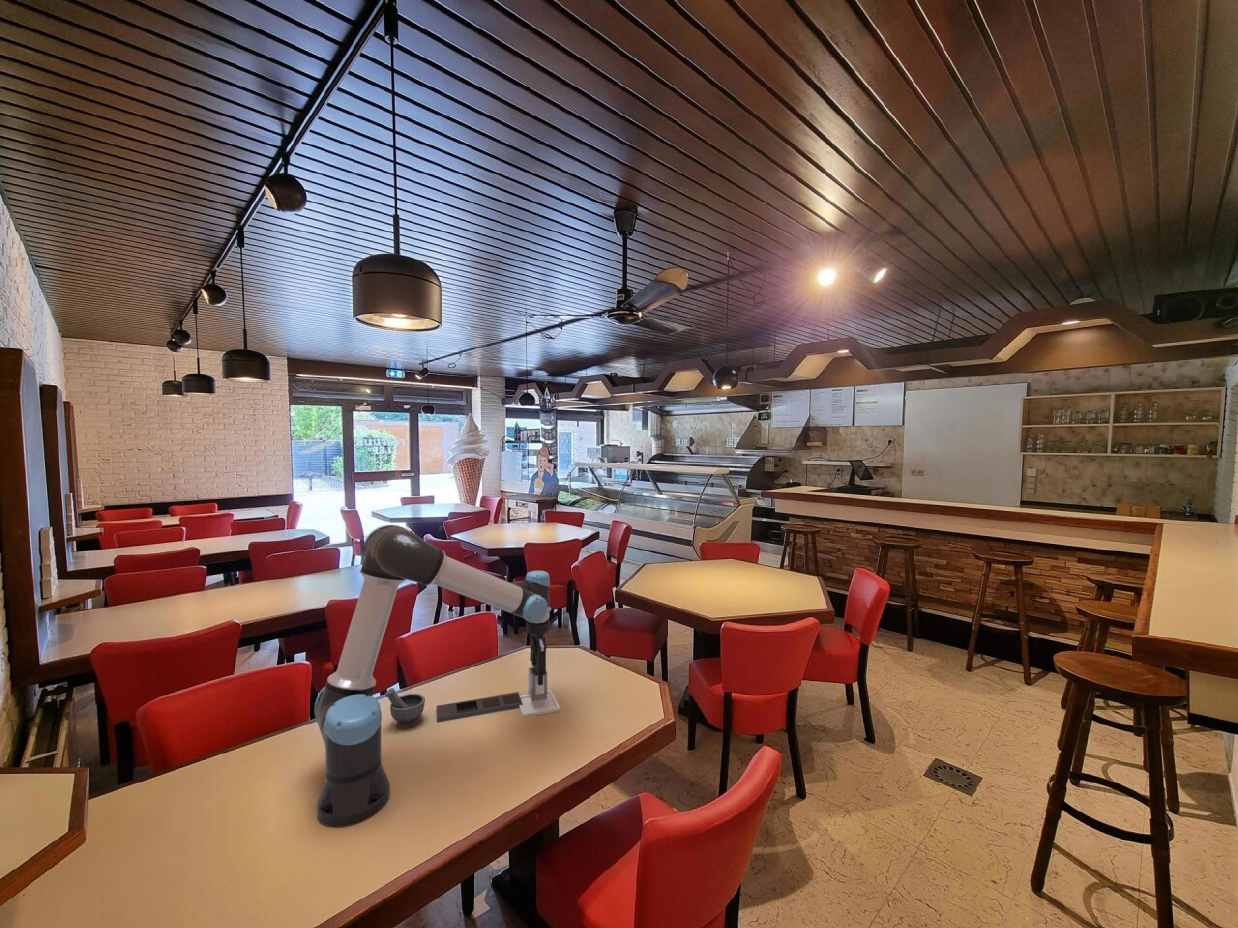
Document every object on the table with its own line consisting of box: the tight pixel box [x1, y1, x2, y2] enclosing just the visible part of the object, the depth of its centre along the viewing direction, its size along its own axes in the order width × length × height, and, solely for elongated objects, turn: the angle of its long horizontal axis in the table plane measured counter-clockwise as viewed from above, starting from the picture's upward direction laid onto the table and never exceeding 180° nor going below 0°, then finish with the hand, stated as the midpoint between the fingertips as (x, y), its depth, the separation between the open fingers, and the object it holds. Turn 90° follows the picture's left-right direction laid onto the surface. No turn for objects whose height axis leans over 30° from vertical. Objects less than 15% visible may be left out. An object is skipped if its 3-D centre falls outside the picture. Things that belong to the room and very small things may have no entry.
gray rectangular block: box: [528, 666, 548, 702], centre depth 162 cm, size 5×5×9 cm
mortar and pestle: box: [384, 687, 426, 729], centre depth 151 cm, size 11×9×12 cm
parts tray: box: [518, 690, 561, 718], centre depth 163 cm, size 12×12×1 cm
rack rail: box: [436, 691, 523, 723], centre depth 160 cm, size 8×26×2 cm, turn 111°
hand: (537, 689), depth 163 cm, fingers closed on gray rectangular block, 5 cm apart
